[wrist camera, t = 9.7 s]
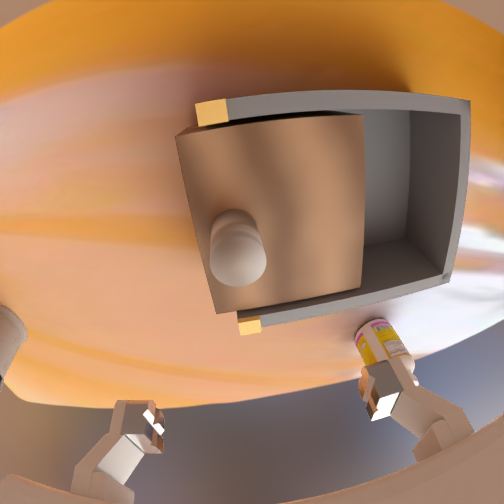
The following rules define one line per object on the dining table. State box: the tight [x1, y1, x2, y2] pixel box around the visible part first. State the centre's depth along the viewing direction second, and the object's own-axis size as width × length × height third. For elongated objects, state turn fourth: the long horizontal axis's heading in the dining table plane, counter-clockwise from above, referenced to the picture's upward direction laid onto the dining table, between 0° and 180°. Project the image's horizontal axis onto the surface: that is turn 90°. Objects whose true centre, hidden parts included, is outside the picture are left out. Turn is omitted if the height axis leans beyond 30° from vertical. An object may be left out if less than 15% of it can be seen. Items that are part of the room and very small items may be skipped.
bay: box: [195, 90, 471, 335], centre depth 27 cm, size 24×20×11 cm
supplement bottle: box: [355, 319, 419, 386], centre depth 39 cm, size 7×7×13 cm
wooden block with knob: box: [175, 110, 365, 314], centre depth 25 cm, size 14×16×13 cm
